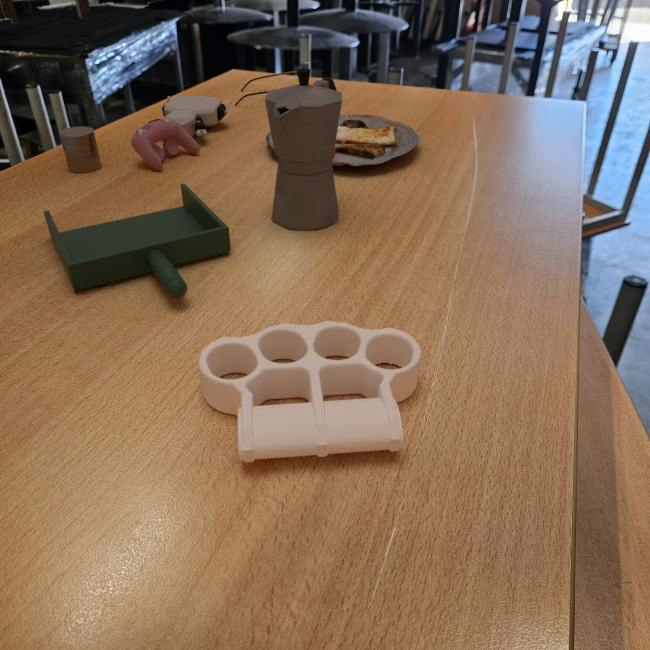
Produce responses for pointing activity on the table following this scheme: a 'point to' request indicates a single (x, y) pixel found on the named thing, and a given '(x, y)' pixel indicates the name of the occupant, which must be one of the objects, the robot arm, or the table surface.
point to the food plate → (368, 140)
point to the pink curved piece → (171, 139)
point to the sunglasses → (261, 78)
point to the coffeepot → (304, 152)
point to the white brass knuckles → (312, 388)
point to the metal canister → (80, 149)
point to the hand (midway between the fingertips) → (49, 20)
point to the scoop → (142, 245)
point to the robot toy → (194, 112)
